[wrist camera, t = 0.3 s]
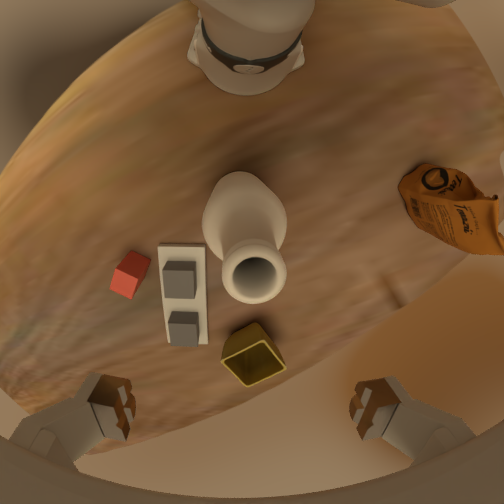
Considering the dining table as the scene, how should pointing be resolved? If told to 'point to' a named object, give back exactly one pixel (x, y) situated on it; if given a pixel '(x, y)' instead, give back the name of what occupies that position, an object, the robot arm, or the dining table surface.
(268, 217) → the alcohol
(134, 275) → the tall red square pillar
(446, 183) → the coffee package
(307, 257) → the dining table surface
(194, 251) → the grey cubes on base
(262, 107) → the dining table surface
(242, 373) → the flower pot
